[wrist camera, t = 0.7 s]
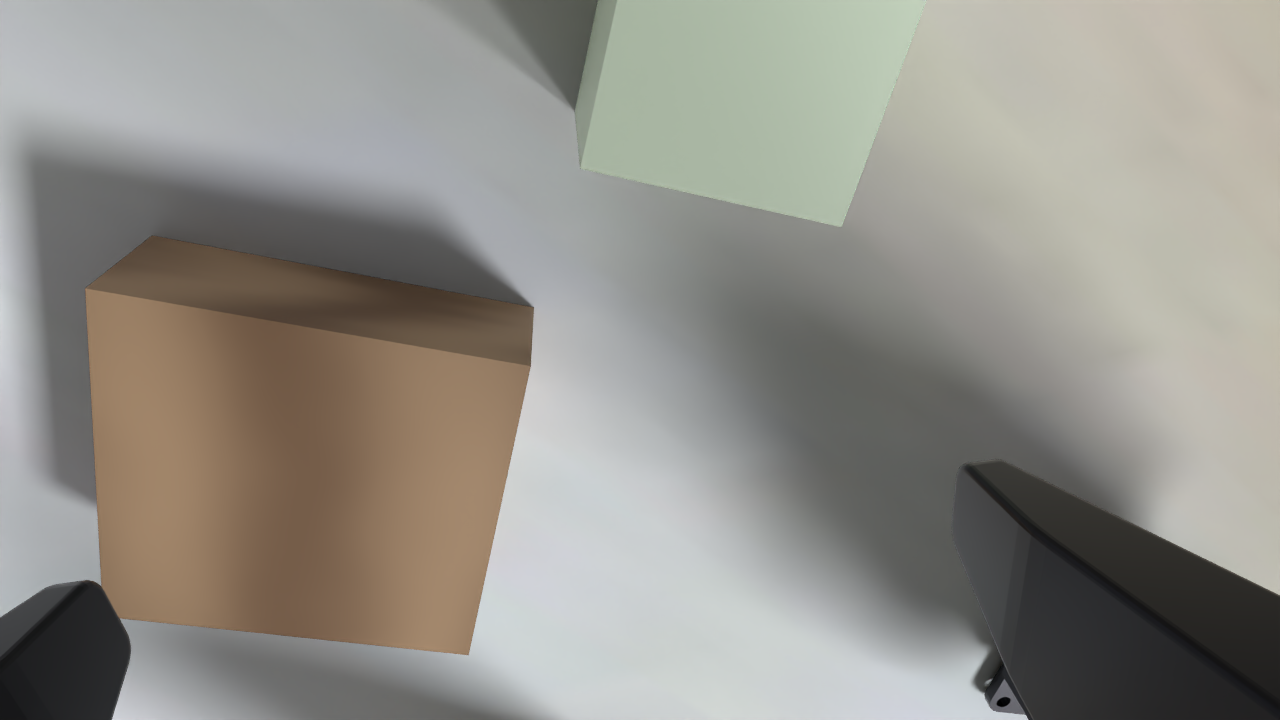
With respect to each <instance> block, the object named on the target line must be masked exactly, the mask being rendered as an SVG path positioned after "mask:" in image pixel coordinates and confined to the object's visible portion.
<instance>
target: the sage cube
mask: <svg viewBox="0 0 1280 720" xmlns="http://www.w3.org/2000/svg"><path fill="white" fill-rule="evenodd" d="M926 1H927V0H598V3H597V7H596V12H595V17H594V22H593V26H592V31H591V36H590V41H589V46H588V50H587V55H586V60H585V65H584V69H583V74H582V79H581V84H580V88H579V93H578V98H577V103H576V108H575V120H576V130H577V140H578V151H579V161H580V169H583V170H587V171H592V172H596V173H601V174H605V175H610V176H614V177H619V178H623V179H628V180H632V181H636V182H641V183H645V184H650V185H654V186H659V187H663V188H668V189H672V190H677V191H681V192H686V193H690V194H695V195H699V196H704V197H708V198H712V199H717V200H721V201H726V202H730V203H735V204H739V205H744V206H748V207H753V208H757V209H762V210H766V211H771V212H775V213H780V214H784V215H788V216H793V217H797V218H802V219H806V220H811V221H815V222H820V223H824V224H829V225H833V226H838V227H842V225H843V222H844V220H845V217H846V214H847V212H848V209H849V206H850V204H851V201H852V198H853V196H854V193H855V190H856V188H857V185H858V182H859V180H860V177H861V174H862V172H863V169H864V166H865V164H866V161H867V158H868V156H869V153H870V150H871V148H872V145H873V142H874V140H875V137H876V134H877V132H878V129H879V126H880V124H881V121H882V118H883V116H884V113H885V110H886V108H887V105H888V102H889V100H890V97H891V94H892V91H893V89H894V86H895V83H896V81H897V78H898V75H899V73H900V70H901V67H902V65H903V62H904V59H905V57H906V54H907V51H908V49H909V46H910V43H911V41H912V38H913V35H914V33H915V30H916V27H917V25H918V22H919V19H920V17H921V14H922V11H923V9H924V6H925V3H926Z"/></svg>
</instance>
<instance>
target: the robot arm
mask: <svg viewBox="0 0 1280 720" xmlns="http://www.w3.org/2000/svg"><path fill="white" fill-rule="evenodd" d="M952 536H953V541H954V544H955V547H956V550H957V552H958V555H959V557H960V560H961V562H962V564H963V567H964V569H965V572H966V574H967V576H968V579H969V581H970V584H971V586H972V588H973V591H974V593H975V596H976V598H977V601H978V603H979V605H980V608H981V610H982V613H983V615H984V617H985V620H986V622H987V625H988V627H989V629H990V632H991V634H992V637H993V639H994V641H995V644H996V646H997V649H998V651H999V653H1000V656H1001V658H1002V660H1003V664H1002V666H1001V667H1000V669H999V671H998V672H997V674H996V675H995V677H994V679H993V680H992V682H991V684H990V685H989V687H988V688H987V690H986V692H985V699H986V701H987V703H988V704H989V706H990V708H991V709H992V710H993V711H997V712H1005V713H1014V714H1024V715H1026V716H1027V718H1028V719H1029V720H1280V595H1278V594H1276V593H1274V592H1272V591H1270V590H1268V589H1266V588H1264V587H1261V586H1259V585H1257V584H1255V583H1253V582H1251V581H1249V580H1247V579H1245V578H1243V577H1241V576H1239V575H1237V574H1235V573H1233V572H1231V571H1229V570H1227V569H1225V568H1223V567H1220V566H1218V565H1216V564H1214V563H1212V562H1210V561H1208V560H1206V559H1204V558H1202V557H1200V556H1198V555H1196V554H1194V553H1192V552H1190V551H1188V550H1186V549H1184V548H1182V547H1179V546H1177V545H1175V544H1173V543H1171V542H1169V541H1167V540H1165V539H1163V538H1161V537H1159V536H1157V535H1155V534H1153V533H1151V532H1149V531H1147V530H1145V529H1143V528H1141V527H1139V526H1136V525H1134V524H1132V523H1130V522H1128V521H1126V520H1124V519H1122V518H1120V517H1118V516H1116V515H1114V514H1112V513H1110V512H1108V511H1106V510H1104V509H1102V508H1100V507H1098V506H1095V505H1093V504H1091V503H1089V502H1087V501H1085V500H1083V499H1081V498H1079V497H1077V496H1075V495H1073V494H1071V493H1069V492H1067V491H1065V490H1063V489H1061V488H1059V487H1057V486H1055V485H1052V484H1050V483H1048V482H1046V481H1044V480H1042V479H1040V478H1038V477H1036V476H1034V475H1032V474H1030V473H1028V472H1026V471H1024V470H1022V469H1020V468H1018V467H1016V466H1014V465H1011V464H1009V463H1007V462H1005V461H1003V460H999V459H992V460H984V461H977V462H970V463H965V464H963V465H962V466H961V467H960V468H959V470H958V472H957V476H956V485H955V495H954V505H953V515H952ZM130 654H131V645H130V640H129V636H128V634H127V632H126V630H125V628H124V626H123V624H122V623H121V621H120V619H119V617H118V615H117V613H116V611H115V610H114V608H113V606H112V604H111V602H110V600H109V599H108V597H107V595H106V593H105V591H104V590H103V588H102V587H101V586H100V585H99V584H97V583H96V582H94V581H89V580H85V581H77V582H69V583H62V584H56V585H52V586H49V587H47V588H45V589H43V590H41V591H40V592H38V593H37V594H35V595H34V596H32V597H31V598H29V599H28V600H26V601H25V602H23V603H22V604H20V605H19V606H17V607H16V608H14V609H12V610H11V611H9V612H8V613H6V614H5V615H3V616H2V617H0V720H112V717H113V714H114V711H115V707H116V704H117V701H118V698H119V694H120V691H121V688H122V684H123V681H124V678H125V675H126V671H127V668H128V665H129V661H130Z"/></svg>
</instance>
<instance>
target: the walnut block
mask: <svg viewBox="0 0 1280 720" xmlns="http://www.w3.org/2000/svg"><path fill="white" fill-rule="evenodd" d="M85 296H86V314H87V332H88V350H89V368H90V386H91V404H92V422H93V440H94V459H95V477H96V495H97V513H98V531H99V549H100V567H101V585H102V588H103V590H104V591H105V593H106V595H107V597H108V599H109V600H110V602H111V604H112V606H113V608H114V610H115V611H116V613H117V615H118V617H119V618H122V619H132V620H141V621H151V622H160V623H170V624H179V625H189V626H198V627H208V628H217V629H226V630H236V631H245V632H255V633H264V634H274V635H283V636H293V637H302V638H312V639H321V640H331V641H340V642H350V643H359V644H369V645H378V646H387V647H397V648H406V649H416V650H425V651H435V652H444V653H454V654H463V655H469V650H470V646H471V641H472V636H473V632H474V627H475V622H476V618H477V613H478V608H479V604H480V599H481V594H482V590H483V585H484V581H485V576H486V571H487V567H488V562H489V557H490V553H491V548H492V543H493V539H494V534H495V529H496V525H497V520H498V515H499V511H500V506H501V502H502V497H503V492H504V488H505V483H506V478H507V474H508V469H509V464H510V460H511V455H512V450H513V446H514V441H515V437H516V432H517V427H518V423H519V418H520V413H521V409H522V404H523V399H524V395H525V390H526V385H527V381H528V376H529V371H530V367H531V351H532V332H533V314H534V307H529V306H524V305H518V304H513V303H508V302H502V301H497V300H492V299H487V298H481V297H476V296H471V295H465V294H460V293H455V292H449V291H444V290H439V289H433V288H428V287H423V286H418V285H412V284H407V283H402V282H396V281H391V280H386V279H380V278H375V277H370V276H364V275H359V274H354V273H349V272H343V271H338V270H333V269H327V268H322V267H317V266H311V265H306V264H301V263H295V262H290V261H285V260H280V259H274V258H269V257H264V256H258V255H253V254H248V253H242V252H237V251H232V250H227V249H221V248H216V247H211V246H205V245H200V244H195V243H189V242H184V241H179V240H173V239H168V238H163V237H158V236H151V237H150V238H148V239H147V240H146V241H144V242H143V243H142V244H141V245H139V246H138V247H137V248H136V249H134V250H133V251H132V252H131V253H129V254H128V255H127V256H125V257H124V258H123V259H122V260H120V261H119V262H118V263H117V264H115V265H114V266H113V267H112V268H110V269H109V270H108V271H106V272H105V273H104V274H103V275H101V276H100V277H99V278H98V279H96V280H95V281H94V282H93V283H91V284H90V285H89V286H87V287H86V288H85Z"/></svg>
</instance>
